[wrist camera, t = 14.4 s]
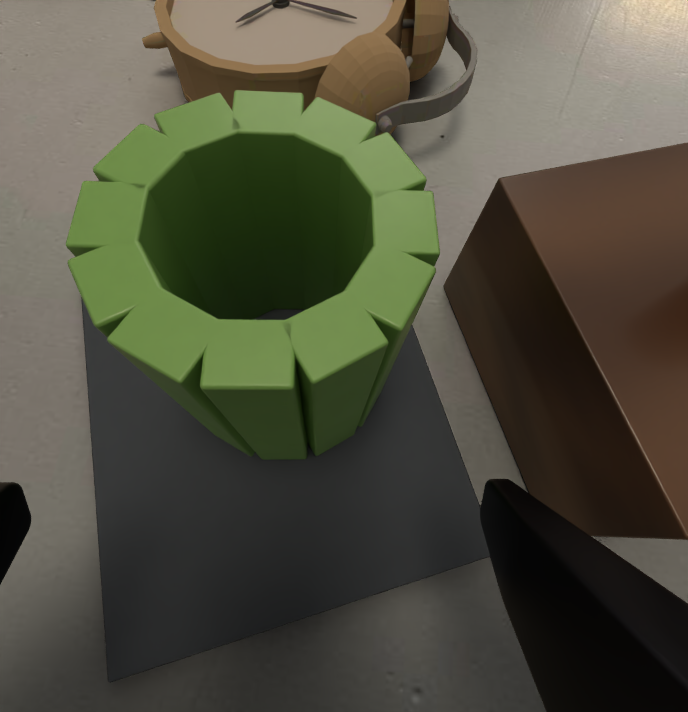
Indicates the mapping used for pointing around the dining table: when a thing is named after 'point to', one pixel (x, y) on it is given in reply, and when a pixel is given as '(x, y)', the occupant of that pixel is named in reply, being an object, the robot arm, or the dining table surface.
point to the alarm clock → (317, 52)
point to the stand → (588, 335)
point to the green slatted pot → (258, 263)
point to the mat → (262, 512)
